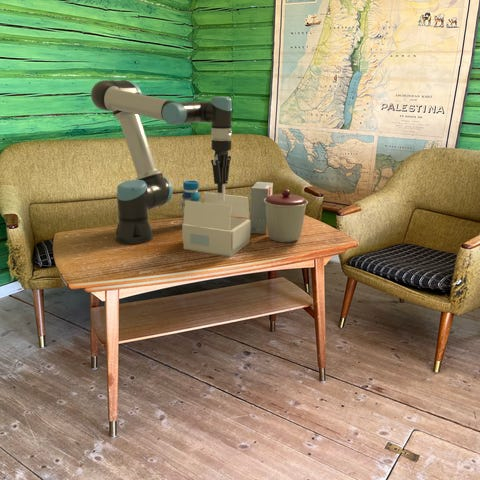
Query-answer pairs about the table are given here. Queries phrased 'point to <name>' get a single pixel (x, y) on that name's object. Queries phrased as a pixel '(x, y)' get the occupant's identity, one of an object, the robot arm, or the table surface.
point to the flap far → (231, 203)
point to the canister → (285, 216)
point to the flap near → (207, 215)
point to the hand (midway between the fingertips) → (221, 200)
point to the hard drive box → (259, 206)
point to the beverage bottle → (190, 193)
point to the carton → (217, 238)
